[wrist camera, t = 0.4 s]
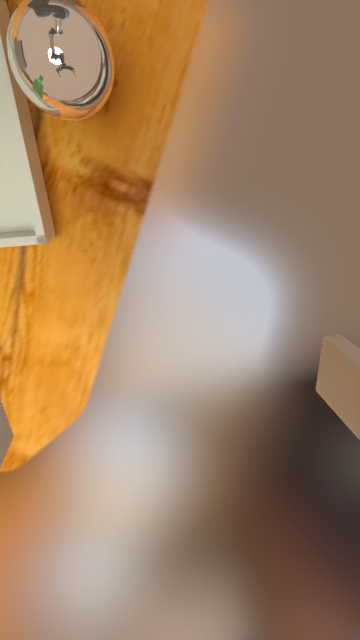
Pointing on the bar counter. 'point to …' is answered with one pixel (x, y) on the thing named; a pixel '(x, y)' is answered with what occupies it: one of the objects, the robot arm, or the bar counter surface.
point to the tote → (19, 161)
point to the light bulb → (61, 57)
